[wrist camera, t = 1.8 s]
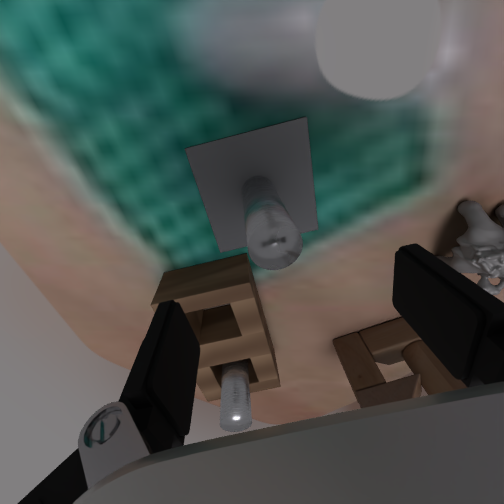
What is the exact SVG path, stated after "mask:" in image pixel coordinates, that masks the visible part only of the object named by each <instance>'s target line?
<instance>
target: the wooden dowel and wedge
mask: <svg viewBox="0 0 504 504" xmlns="http://www.w3.org/2000/svg"><path fill="white" fill-rule="evenodd" d="M333 344H334V347H335V349H336V352H337V355H338V357H339V359H340V362H341V364H342V366H343V369H344V371H345V373H346V376H347V378H348V380H349V383H350V385H351V387H352V390H353V392H354V394H355V397H356V399H357V401H358V403H359V404H360V407H361V408H366V407H371V406H376V405H381V404H386V403H391V402H396V401H402V400H407V399H412V398H417V397H420V396H421V392H422V388H421V385H422V387H423V388H424V389H425V391H426V392H427V394H428V395H432V394H437V393H442V392H448V391H453V390H458V389H464V388H467V386H466V385H465V384H464V383H463V382H462V381H461V380H458V379H456V378H454V377H453V376H452V375H451V373H450V372H449V371H448V370H447V369H446V367H445V366H444V365H443V364H442V363H441V362H440V360H439V359H438V358H437V357H436V356H435V355H434V353H433V352H432V351H431V350H430V349H429V348H428V346H427V345H426V344H425V343H424V342H423V340H422V339H421V338H420V337H419V336H418V335H417V333H416V332H415V331H414V330H413V329H412V328H411V326H410V325H409V324H408V323H407V322H406V321H405V319H404V318H403V317H402V318H399V319H396V320H393V321H390V322H387V323H384V324H381V325H377V326H374V327H371V328H368V329H365V330H362V331H360V332H359V334H358V333H357V332H355V333H352V334H349V335H346V336H343V337H340V338H337V339H334V340H333ZM404 360H405V362H406V363H407V365H408V366H409V368H410V369H411V371H412V372H413V373H414V375H411V376H408V377H404V378H401V379H398V380H394V381H391V382H387V383H386V381H385V379H384V377H383V375H382V373H381V372H380V370H379V368H378V366H377V365H376V363H375V362H378V363H382V364H387V365H391V364H394V363H397V362H401V361H404Z"/></svg>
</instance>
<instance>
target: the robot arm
mask: <svg viewBox="0 0 504 504" xmlns="http://www.w3.org/2000/svg"><path fill="white" fill-rule="evenodd" d="M392 302H393V305H394V307H395V309H396V310H397V311H398V312H399V313H400V315H401V316H402V317H403V318H404V319H405V321H406V322H407V323H408V324H409V325H410V326H411V328H412V329H413V330H414V331H415V332H416V333H417V335H418V336H419V337H420V338H421V339H422V340H423V342H424V343H425V344H426V345H427V346H428V348H429V349H430V350H431V351H432V352H433V353H434V355H435V356H436V357H437V358H438V359H439V360H440V362H441V363H442V364H443V365H444V366H445V367H446V369H447V370H448V371H449V372H450V373H451V375H452V376H453V377H454V378H456V379H458V380H461V381H462V382H463V383H464V384H465V385H466V386H467V388H464V389H458V390H453V391H448V392H442V393H437V394H432V395H427V396H422V397H417V398H412V399H407V400H402V401H396V402H391V403H386V404H381V405H376V406H371V407H366V408H361V409H357V410H352V411H346V412H341V413H336V414H331V415H327V416H321V417H316V418H311V419H306V420H301V421H297V422H292V423H287V424H282V425H277V426H272V427H267V428H263V429H258V430H253V431H248V432H243V433H239V434H234V435H229V436H224V437H219V438H215V439H211V440H206V441H202V442H198V443H193V444H188V445H184V438H185V435H188V433H189V430H190V423H191V416H192V409H193V402H194V395H195V387H196V380H197V373H198V366H199V358H200V344H199V342H198V340H197V338H196V336H195V333H194V331H193V329H192V327H191V325H190V323H189V321H188V319H187V317H186V315H185V313H184V311H183V309H182V307H181V305H180V303H179V302H175V301H174V300H169V301H165V302H160V303H159V304H158V307H157V309H156V312H155V314H154V317H153V319H152V322H151V324H150V327H149V329H148V332H147V334H146V337H145V339H144V340H143V342H142V344H141V347H140V349H139V352H138V354H137V357H136V359H135V362H134V364H133V366H132V369H131V372H130V374H129V377H128V379H127V381H126V384H125V386H124V389H123V392H122V394H121V396H120V399H119V401H118V402H111V403H109V404H107V405H104V406H103V407H102V408H100V409H99V410H98V411H96V412H95V413H94V414H93V415H92V416H91V417H90V418H89V420H88V421H87V422H86V423H85V425H84V427H83V429H82V430H81V432H80V436H79V439H78V449H77V450H76V451H74V452H73V453H72V454H71V455H70V456H69V457H68V458H67V459H66V460H65V461H63V462H62V463H61V464H60V465H59V466H58V467H57V468H56V469H55V470H54V471H53V472H51V473H50V475H48V476H47V477H46V478H45V479H44V480H43V481H42V482H41V483H39V484H38V485H37V486H36V487H35V488H34V489H33V490H32V491H31V492H30V493H29V494H28V495H26V496H25V497H24V498H23V499H22V500H21V501H20V502H19V503H18V504H504V303H503V302H502V301H500V300H499V299H497V298H496V297H494V296H493V295H491V294H490V293H489V292H487V291H486V290H484V289H483V288H481V287H480V286H478V285H477V284H475V283H474V282H472V281H471V280H470V279H468V278H467V277H465V276H464V275H462V274H461V273H459V272H458V271H456V270H455V269H453V268H452V267H451V266H449V265H448V264H446V263H445V262H443V261H442V260H440V259H439V258H437V257H436V256H434V255H433V254H431V253H430V252H429V251H427V250H426V249H424V248H423V247H421V246H420V245H418V244H410V245H406V246H402V247H400V248H399V251H397V252H396V253H395V264H394V281H393V297H392ZM183 445H184V446H183Z"/></svg>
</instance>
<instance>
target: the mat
mask: <svg viewBox="0 0 504 504" xmlns="http://www.w3.org/2000/svg"><path fill="white" fill-rule="evenodd" d="M185 151H186V154H187V157H188V160H189V163H190V166H191V169H192V172H193V175H194V177H195V180H196V183H197V186H198V189H199V192H200V195H201V198H202V201H203V203H204V206H205V209H206V212H207V215H208V218H209V221H210V224H211V227H212V229H213V232H214V235H215V238H216V241H217V244H218V247H219V250H220V253H221V252H225V251H230V250H234V249H238V248H242V247H246V246H248V245H247V236H246V228H245V219H244V211H243V202H242V188H243V186H244V184H245V182H246V181H247V180H249V179H250V178H252V177H256V176H262V177H265V178H267V179H269V180H270V181H271V182H272V184H273V185H274V187H275V189H276V191H277V193H278V195H279V196H280V198H281V200H282V202H283V204H284V205H285V207H286V209H287V211H288V213H289V215H290V216H291V218H292V220H293V222H294V224H295V225H296V227H297V229H298V231H299V233H300V234H301V233H305V232H309V231H314V230H318V221H317V211H316V202H315V192H314V182H313V172H312V162H311V152H310V143H309V133H308V123H307V117H303V118H299V119H295V120H291V121H287V122H284V123H280V124H276V125H272V126H268V127H265V128H261V129H257V130H253V131H249V132H246V133H242V134H238V135H234V136H230V137H227V138H223V139H219V140H215V141H211V142H208V143H204V144H200V145H196V146H192V147H189V148H185Z"/></svg>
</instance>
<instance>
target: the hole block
mask: <svg viewBox="0 0 504 504" xmlns="http://www.w3.org/2000/svg"><path fill="white" fill-rule="evenodd" d="M169 300H174V301H175V302H179V303H180V305H181V307H182V309H183V311H184V313H185V315H186V317H187V319H188V321H189V323H190V325H191V327H192V329H193V331H194V333H195V336H196V338H197V340H198V342H199V344H200V358H199V366H198V373H197V380H196V383H197V384H198V386H199V388H200V389H201V391H202V393H203V394H204V396H205V398H206V400H207V401H213V400H218V399H221V381H222V364H224V363H229V362H233V361H238V360H243V359H248V371H249V387H250V393H252V392H257V391H262V390H267V389H271V388H276V387H281V386H280V380H279V374H278V369H277V363H276V357H275V352H274V348H273V344H272V341H271V337H270V334H269V330H268V327H267V323H266V320H265V316H264V313H263V309H262V306H261V302H260V298H259V295H258V291H257V288H256V284H255V281H254V277H253V274H252V270H251V267H250V263H249V260H248V256H247V253H245V254H241V255H237V256H233V257H229V258H224V259H220V260H216V261H212V262H207V263H203V264H199V265H195V266H191V267H186V268H182V269H178V270H174V271H169V272H165V273H164V274H163V276H162V279H161V281H160V284H159V286H158V289H157V291H156V293H155V296H154V298H153V301H152V303H151V307H152V308H153V310H154V312H156V309H157V307H158V304H159V303H160V302H165V301H169ZM228 303H230V305H226V306H221V307H217V308H213V309H208V310H203V309H206V308H210V307H214V306H219V305H223V304H228Z"/></svg>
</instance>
